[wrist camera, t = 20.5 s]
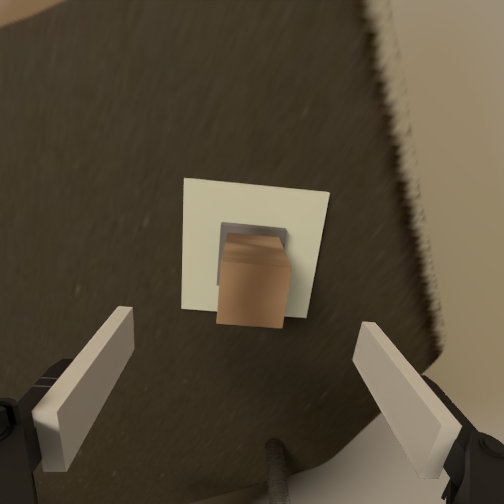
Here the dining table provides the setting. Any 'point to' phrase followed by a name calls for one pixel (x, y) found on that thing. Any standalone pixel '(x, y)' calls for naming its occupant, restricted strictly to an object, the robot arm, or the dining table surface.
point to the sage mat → (253, 213)
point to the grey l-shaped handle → (276, 473)
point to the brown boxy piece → (252, 275)
